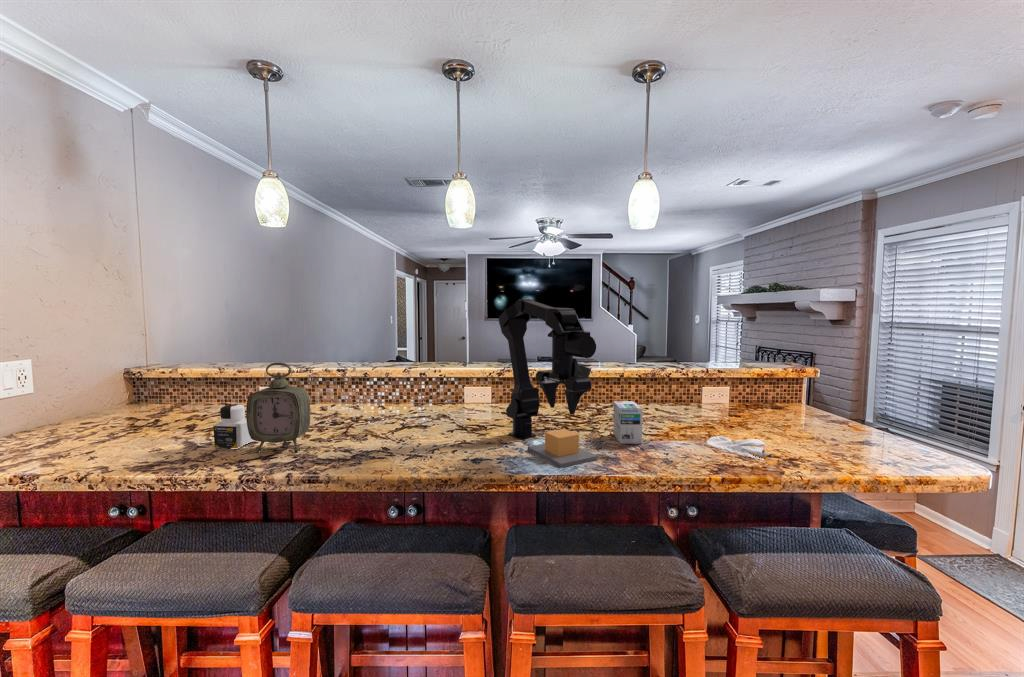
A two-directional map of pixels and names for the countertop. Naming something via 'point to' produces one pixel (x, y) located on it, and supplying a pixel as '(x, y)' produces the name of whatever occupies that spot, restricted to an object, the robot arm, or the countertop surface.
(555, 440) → the tan wooden cube
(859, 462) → the countertop surface
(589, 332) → the robot arm
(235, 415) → the medicine bottle
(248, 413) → the tabletop clock
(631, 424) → the light bulb box
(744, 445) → the cloth
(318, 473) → the countertop surface
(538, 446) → the post board
